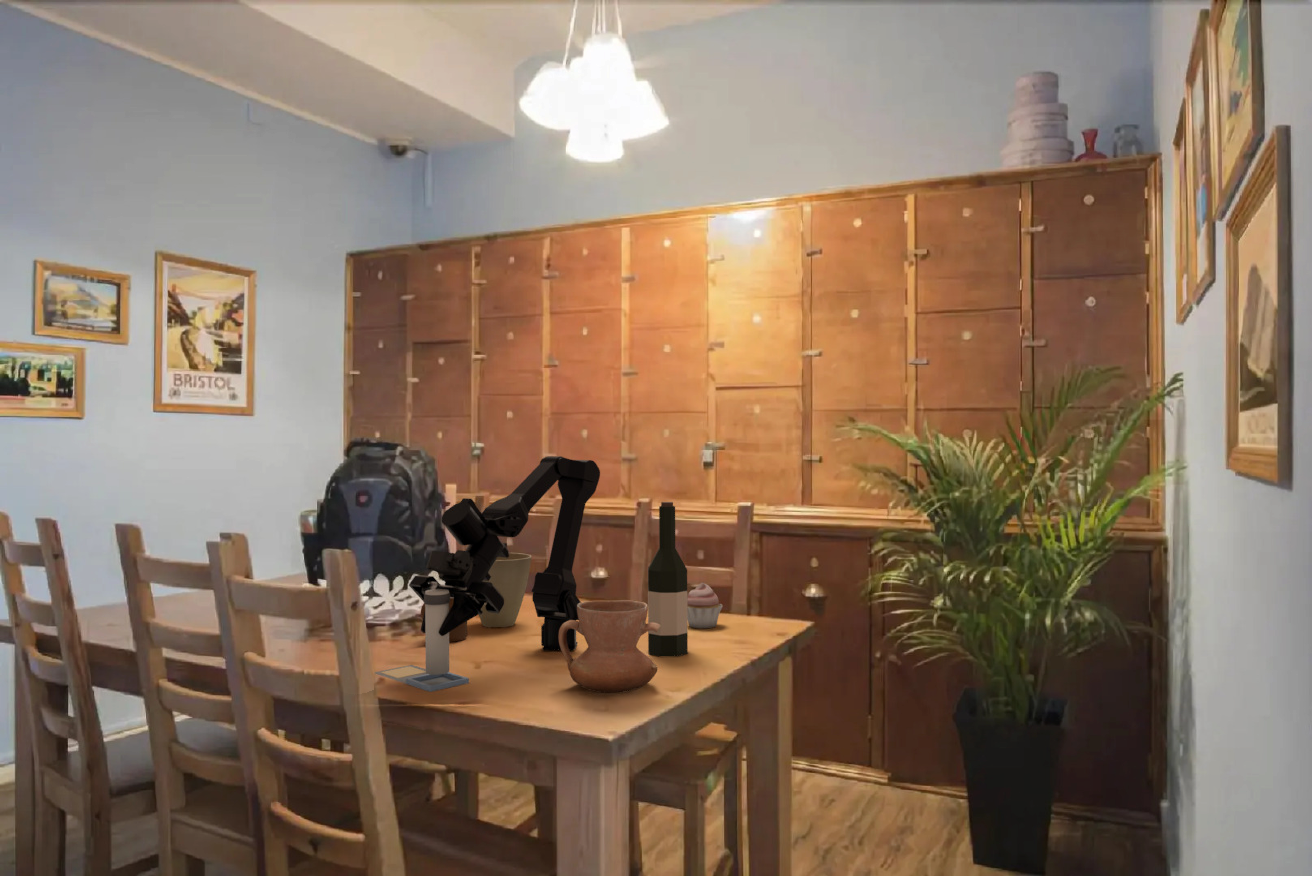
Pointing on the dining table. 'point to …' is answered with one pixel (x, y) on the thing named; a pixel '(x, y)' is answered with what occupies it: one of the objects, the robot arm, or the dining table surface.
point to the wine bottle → (667, 591)
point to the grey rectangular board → (423, 678)
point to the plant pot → (508, 588)
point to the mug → (456, 633)
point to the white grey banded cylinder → (436, 631)
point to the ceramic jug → (610, 646)
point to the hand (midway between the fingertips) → (431, 633)
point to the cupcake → (703, 607)
